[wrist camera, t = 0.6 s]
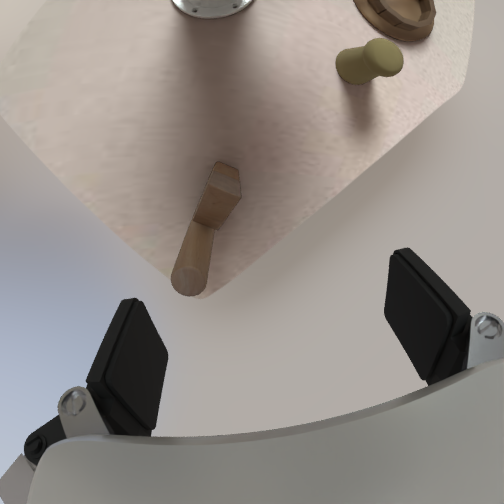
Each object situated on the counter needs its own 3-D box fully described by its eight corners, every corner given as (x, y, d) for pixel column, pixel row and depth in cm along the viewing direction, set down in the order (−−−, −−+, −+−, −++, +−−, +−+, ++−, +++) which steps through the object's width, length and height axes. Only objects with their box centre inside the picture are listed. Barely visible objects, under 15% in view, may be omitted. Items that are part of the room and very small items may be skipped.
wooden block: (239, 170, 40) (243, 209, 24) (211, 232, 44) (199, 304, 28) (216, 160, 39) (202, 192, 23) (189, 224, 43) (165, 291, 27)
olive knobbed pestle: (351, 41, 31) (386, 24, 21) (378, 70, 33) (418, 62, 23) (327, 63, 33) (357, 49, 23) (355, 92, 35) (392, 88, 25)
